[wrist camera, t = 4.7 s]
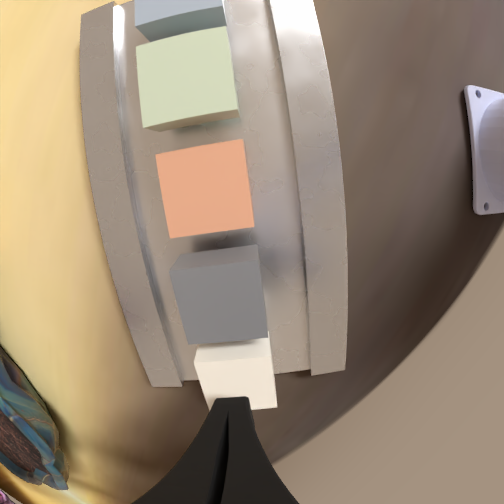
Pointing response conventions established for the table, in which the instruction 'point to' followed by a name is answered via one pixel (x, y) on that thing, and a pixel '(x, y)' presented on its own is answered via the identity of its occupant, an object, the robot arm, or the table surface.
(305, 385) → the table surface
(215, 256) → the key
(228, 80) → the pale green square block
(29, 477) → the bonsai tree
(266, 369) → the key
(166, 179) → the key
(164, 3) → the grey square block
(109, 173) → the base
